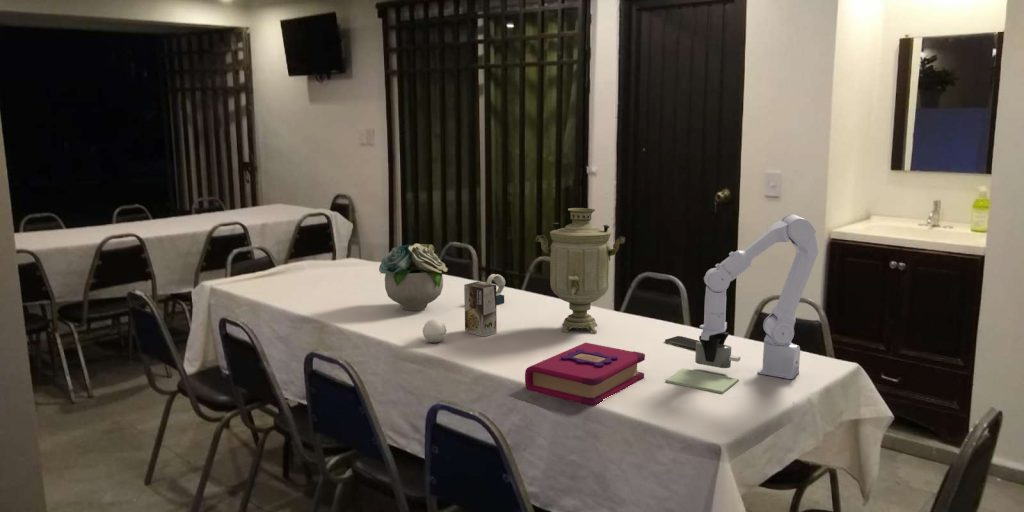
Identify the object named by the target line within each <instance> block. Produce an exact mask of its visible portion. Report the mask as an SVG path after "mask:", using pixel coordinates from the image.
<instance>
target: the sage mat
mask: <svg viewBox="0 0 1024 512" xmlns="http://www.w3.org/2000/svg"><path fill="white" fill-rule="evenodd" d="M664 380H665V381H664V382H665V383H668V384H673V385H677V386H678V385H679V386H683V387H687V388H688V387H689V388H693V389H698V390H702V391H703V390H704V391H708V392H713V393H719V394H721V395H722V394H724V393H726V392H727V391H728V390H730V388H732V387H733V386H735V385H736V384H737V383H738V382H739V381H740V379H739V378H736V377H731V376H726V375H725V376H724V375H720V374H716V373H715V374H713V373H709V372H705V371H704V372H703V371H698V370H695V369H694V370H693V369H688V368H681V369H680V370H678V371H677V372H675V373H674V374H672V375H670V376H669V377H667V378H666V379H664Z"/></svg>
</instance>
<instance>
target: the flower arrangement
mask: <svg viewBox="0 0 1024 512" xmlns="http://www.w3.org/2000/svg"><path fill="white" fill-rule="evenodd" d="M435 249H436V248H435V247H434V245H433V244H428V243H425V244H422V243H421V244H420V243H415V242H413V243H410V244H405V245H399V246H397V247H396V246H394V247H393V248H391V250H390V252H389V253H388V254H387V255H386V256H384V257H383V258H382V259H381V261H380V264H379V267H378V271H379V273H380V274H379V275H381V274H383V275H384V287H385V292H386V295H387V297H388V298H389V299H390V300H392V302H395V303H397V304H399V305H400V306H401V308H402V310H404V311H410V312H417V311H418V312H419V311H423V310H425V309H427V307H428V304H431V303H432V302H434V301H435V300H436V299H438V297H439V296H441V294H442V292H443V291H442V290H443V288H444V276H443V272H445V273H446V272H448V270H449V268H448V267H447V266H446V264H445V262H443V261H441V260H440V258H439V256H440V255H439V253H438V252H437V253H435V252H436V250H435Z"/></svg>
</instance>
